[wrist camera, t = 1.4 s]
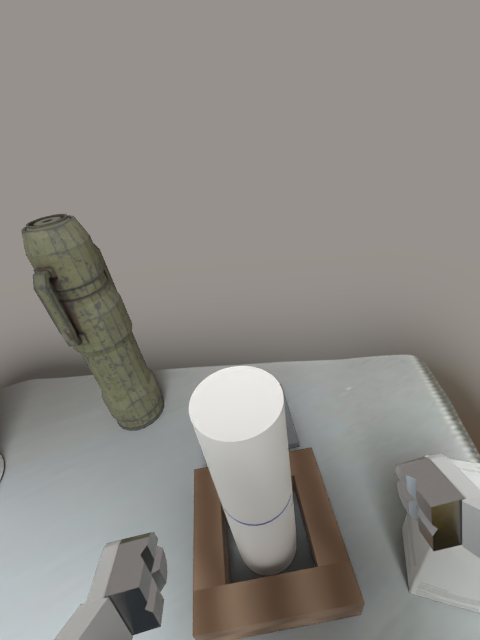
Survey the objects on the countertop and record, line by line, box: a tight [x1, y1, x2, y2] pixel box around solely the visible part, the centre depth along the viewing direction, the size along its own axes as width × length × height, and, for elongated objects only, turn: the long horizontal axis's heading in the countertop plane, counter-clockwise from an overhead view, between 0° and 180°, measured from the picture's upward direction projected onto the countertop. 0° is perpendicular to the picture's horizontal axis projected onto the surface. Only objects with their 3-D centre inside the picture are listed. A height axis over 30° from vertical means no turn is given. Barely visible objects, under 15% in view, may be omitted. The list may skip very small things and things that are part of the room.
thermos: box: [22, 214, 164, 430], centre depth 47 cm, size 9×12×35 cm
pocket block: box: [193, 448, 364, 640], centre depth 36 cm, size 16×16×4 cm
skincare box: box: [402, 455, 480, 613], centre depth 28 cm, size 8×7×16 cm
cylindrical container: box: [189, 366, 297, 576], centre depth 30 cm, size 7×7×25 cm
